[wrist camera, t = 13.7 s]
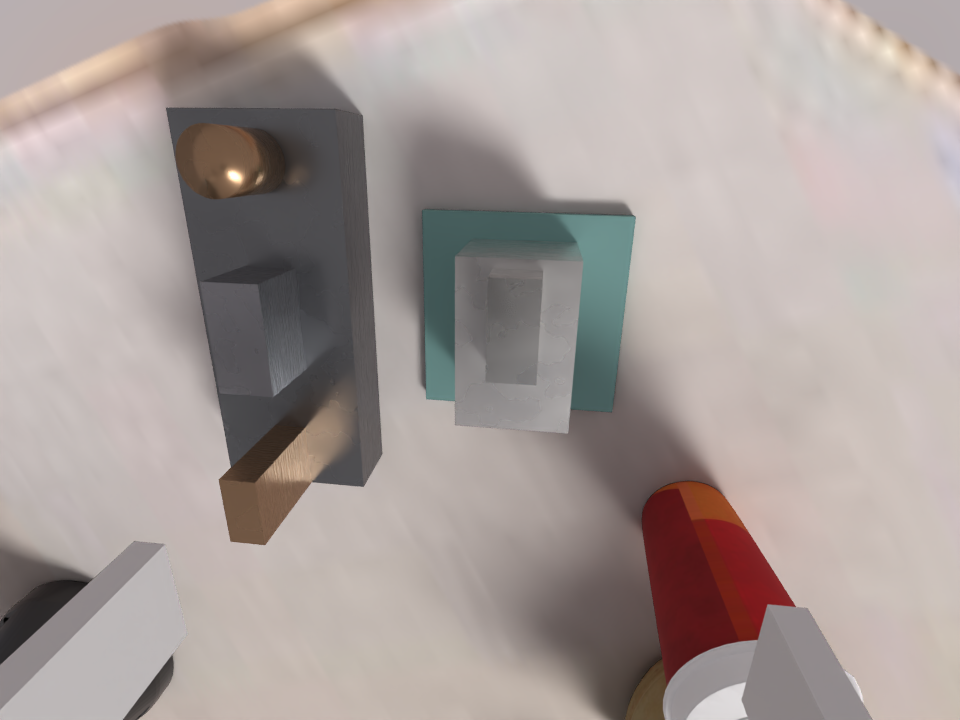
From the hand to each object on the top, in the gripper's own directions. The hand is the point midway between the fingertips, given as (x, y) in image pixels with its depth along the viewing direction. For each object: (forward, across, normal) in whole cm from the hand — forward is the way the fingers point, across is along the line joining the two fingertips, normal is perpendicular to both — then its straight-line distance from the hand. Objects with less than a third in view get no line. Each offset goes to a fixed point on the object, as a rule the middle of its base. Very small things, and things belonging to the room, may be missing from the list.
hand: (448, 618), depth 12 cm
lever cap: (+22, 0, +1) cm, 22 cm away
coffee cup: (+23, +12, -13) cm, 29 cm away
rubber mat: (+23, +1, +1) cm, 23 cm away
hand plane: (+23, -13, +1) cm, 26 cm away
